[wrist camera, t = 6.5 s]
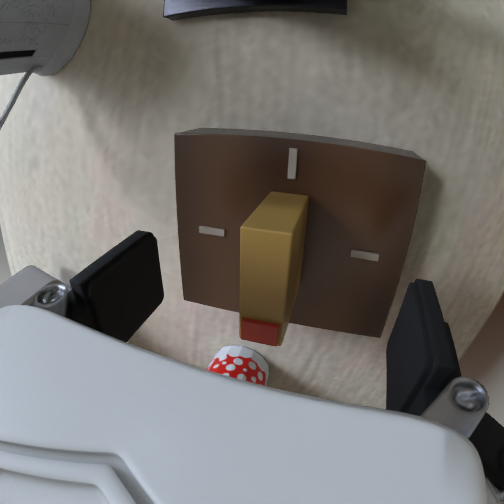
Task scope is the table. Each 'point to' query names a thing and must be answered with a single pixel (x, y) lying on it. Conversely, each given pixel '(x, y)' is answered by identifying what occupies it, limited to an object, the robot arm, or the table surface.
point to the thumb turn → (271, 266)
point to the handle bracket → (248, 7)
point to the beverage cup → (240, 364)
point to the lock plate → (318, 219)
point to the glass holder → (39, 37)
